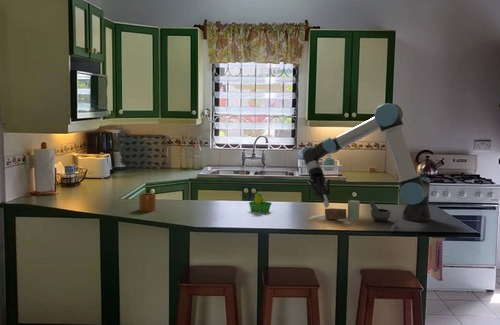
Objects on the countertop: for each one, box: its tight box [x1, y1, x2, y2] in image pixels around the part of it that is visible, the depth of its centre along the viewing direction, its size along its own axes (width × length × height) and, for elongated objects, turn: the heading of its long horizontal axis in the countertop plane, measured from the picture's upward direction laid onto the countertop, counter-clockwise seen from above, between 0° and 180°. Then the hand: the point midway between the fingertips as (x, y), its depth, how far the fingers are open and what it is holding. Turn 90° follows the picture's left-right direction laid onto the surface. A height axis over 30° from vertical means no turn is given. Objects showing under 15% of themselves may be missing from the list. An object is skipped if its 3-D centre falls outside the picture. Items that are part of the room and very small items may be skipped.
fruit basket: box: [248, 192, 272, 214], centre depth 300 cm, size 11×9×11 cm
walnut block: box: [324, 208, 348, 220], centre depth 273 cm, size 5×5×14 cm
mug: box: [138, 192, 156, 213], centre depth 296 cm, size 9×12×9 cm
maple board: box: [306, 213, 361, 226], centre depth 277 cm, size 24×14×2 cm, turn 58°
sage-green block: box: [347, 199, 361, 223], centre depth 275 cm, size 5×5×10 cm
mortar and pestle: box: [368, 199, 392, 223], centre depth 276 cm, size 11×9×12 cm
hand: (327, 206), depth 281 cm, fingers closed
